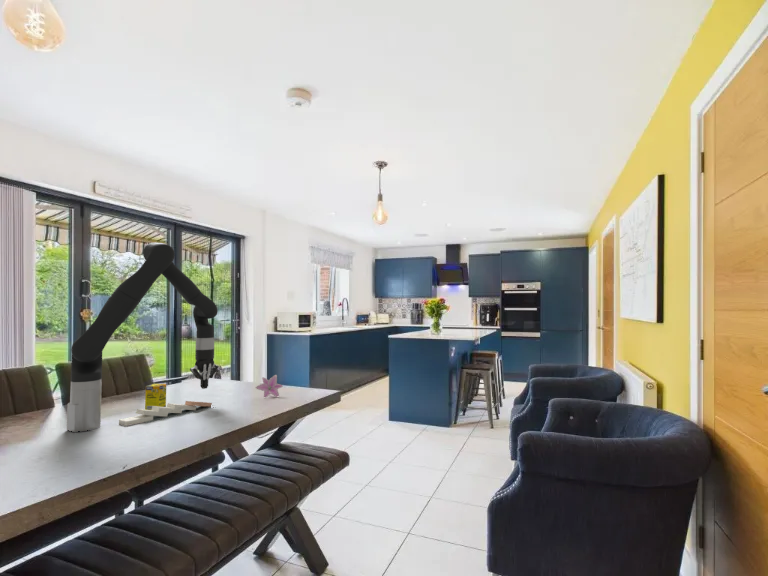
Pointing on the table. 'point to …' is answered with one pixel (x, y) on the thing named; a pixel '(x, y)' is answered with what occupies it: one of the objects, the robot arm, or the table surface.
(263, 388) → the lily
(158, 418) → the domino mat
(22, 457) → the table surface
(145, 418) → the end tile
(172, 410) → the tile
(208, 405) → the tile
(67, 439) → the table surface
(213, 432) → the table surface
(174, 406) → the tile
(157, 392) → the supplement box
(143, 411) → the tile
